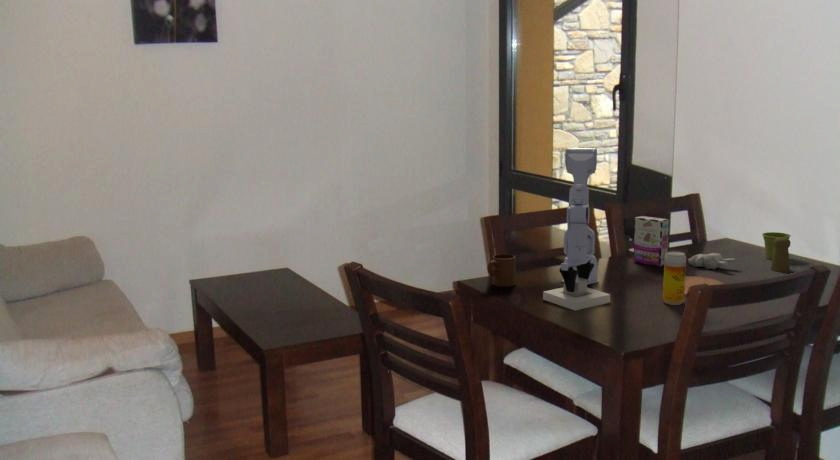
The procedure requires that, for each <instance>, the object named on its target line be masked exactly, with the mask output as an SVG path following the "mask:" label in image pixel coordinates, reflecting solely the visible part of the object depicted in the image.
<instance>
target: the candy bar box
mask: <svg viewBox="0 0 840 460" xmlns="http://www.w3.org/2000/svg"><path fill="white" fill-rule="evenodd" d="M669 230H670V219H669V218H663V217H662V218H661V217H654V216H646V215H639V216H635V217H634V237H633V238H634V239H633V263H636V262H637V264H642V263H643V264H642V265H647V264H648V266H654V267H659V268H661V267H664V260H665V255H666V253H667V252H669Z"/></svg>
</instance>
